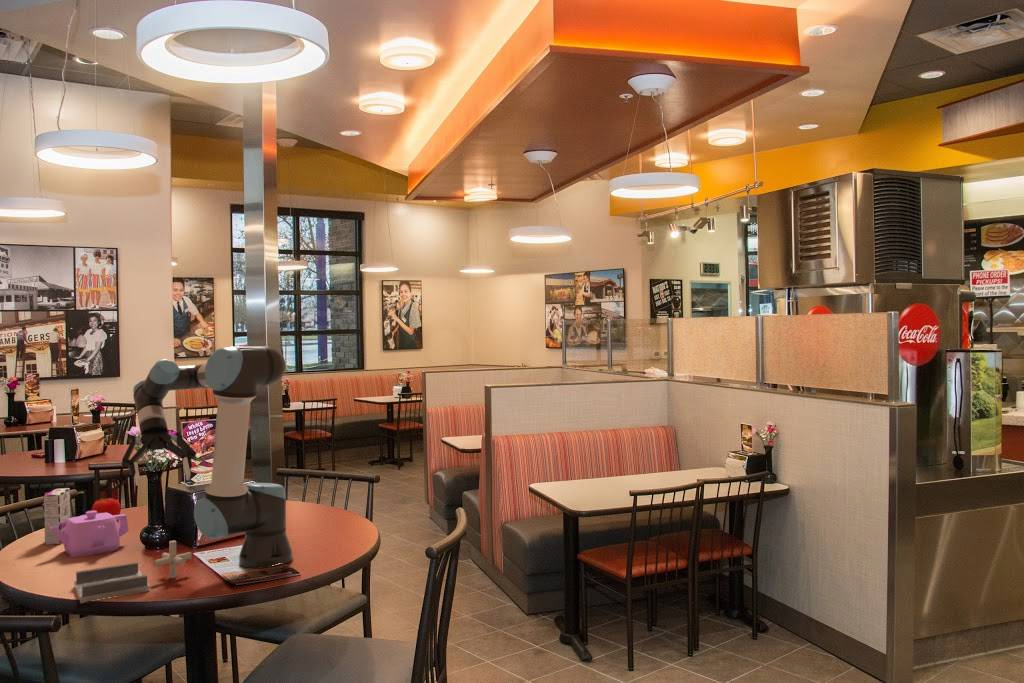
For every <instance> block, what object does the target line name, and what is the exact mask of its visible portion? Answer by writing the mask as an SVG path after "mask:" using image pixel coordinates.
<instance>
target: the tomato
mask: <svg viewBox="0 0 1024 683" xmlns="http://www.w3.org/2000/svg"><path fill="white" fill-rule="evenodd" d="M121 506H122V505H121V503H120V501H119V500H118V499H115V498H113V497H112V496H111V497H109V498H106V497H104V498H100V499H98V500H96V501H95V502H94V504H92V506H91V510H90V511H97V514H98V513H109V514H111V515H121V510H122V507H121Z"/></svg>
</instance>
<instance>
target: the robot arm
mask: <svg viewBox="0 0 1024 683" xmlns="http://www.w3.org/2000/svg"><path fill="white" fill-rule="evenodd" d="M286 365H287V364H286V360H285V358H284V355H283V354H282V353H281V352H280V351H278V350H277V349H275V348H274V347H270V346H266V345H263V346H261V345H259V346H232V345H231V346H228V347H220V348H218V349H216V350H214V351H213V352H212V353H211V354H210V355H209V357H208V358H207V361H206V363H203V364H198V365H197V364H196V365H195V364H193V365H178V364H177V363H176V362H174V361H173V360H169V359H165V358H163V359H162V358H161V359H159V360H157V361H156V362H155V364H154V365H153V366H152V367H151V368H150V370H149V372H148V374H147V376H146V379H144V380H141V381H139V382H138V383H136V384H135V385H134V386H133V389H132V391H133V392H132V393H133V401H134V405H135V409H136V410H135V411H136V414H137V420H138V421H137V422H138V425H139V431H140V436H139V437H137V436H135V435H134V434H133V435H131V436H130V440H129V445H128V447H127V449H126V451H125V453H124V455H123V457H122V460H121V466H122V467H125V466H127V468H128V470H129V474H130V476H134V480H135V481H134V482H135V486H136V487H139V486H140V484H141V477H140V471H139V465H138V464H139V463H138V461H139V460H140V459H141V458H142V457H143V456H144V454H146V453H147V452H148V451H149V450H151V451H155V450H163V449H164V450H166V451H167V452H168V451H169V452H171V453H172V454H174V455H175V456H176V457H178V458H179V459H181V460H183V461H182V464H183V469H184V474H185V479H186V481H190V479H191V475H192V474H191V470H192V469H193V468H192V467H193V463H192V460H193V461H194V460H195V459H196V458H197V457H196V456H197V452H196V450H194V449H193V447H192V446H190V444H189V443H188V442H187V441H186V440H185V439H184V438H183V437H182V434H181V432H179V431H177V432H175V434H170V433H169V429H168V424H167V421H166V420H167V418H166V415H165V411H164V410H165V409H164V404H163V401H164V399H165V397H166V396H167V394H168V393H169V392H170V391H182V390H197V389H202V390H203V389H209V388H210V389H211V390H212V396H214V397H215V398H216V399H217V409H216V421H215V430H214V431H215V432H214V433H215V435H214V443H213V444H214V446H213V458H212V460H213V461H212V468H211V469H212V470H211V480H210V481H211V483H210V484H208V485H207V486H206V487H205V488H204V494H203V495H204V497H202V498H200V499H198V500H197V501H196V502H195V504H194V506H193V508H194V509H193V516H194V517H193V518H194V522H195V524H196V527H197V528H198V530H199V532H200V533H201V534H202V535H203V536H204V537H206V538H207V539H210V540H215V539H220V538H223V539H224V538H227V537H229V536H233V535H236V534H240V533H244V534H245V535H244V540H243V543H242V546H241V548H240V551H239V555H238V559H239V561H238V562H239V563H238V564H239V565H240V566H241V567H244V568H248V567H250V568H251V569H260V568H259V567H266V568H270V567H269V566H272V565H275V564H278V563H285V564H287V563H290V562H291V561H292V560H293V549H292V546H291V543H290V541H289V538H288V535H287V520H286V519H287V518H286V517H287V516H286V512H287V511H286V508H287V507H286V500H287V496H286V489H285V487H284V485H282V484H278V483H271V482H249V483H244V481H245V470H246V458H247V457H246V456H247V446H248V445H247V444H248V434H249V422H250V413H251V412H250V410H251V402H252V401H253V400H254V399H255V398H257V395H258V394H257V393H258V388H262V387H263V388H264V387H269V386H272V385H275V384H277V383H278V382H280V381H281V380H282V378H283V377H284V375H285V373H286V369H287V366H286ZM139 443H141V444H142V445H141V447H139V449H138V450H137V451H136V452H135V453H134V455H133V456H132V457H131V455H132V453H133V451H134V449H135V446H137V445H138V444H139ZM175 443H176V444H177V445H176V444H175ZM130 457H131V458H130Z"/></svg>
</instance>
